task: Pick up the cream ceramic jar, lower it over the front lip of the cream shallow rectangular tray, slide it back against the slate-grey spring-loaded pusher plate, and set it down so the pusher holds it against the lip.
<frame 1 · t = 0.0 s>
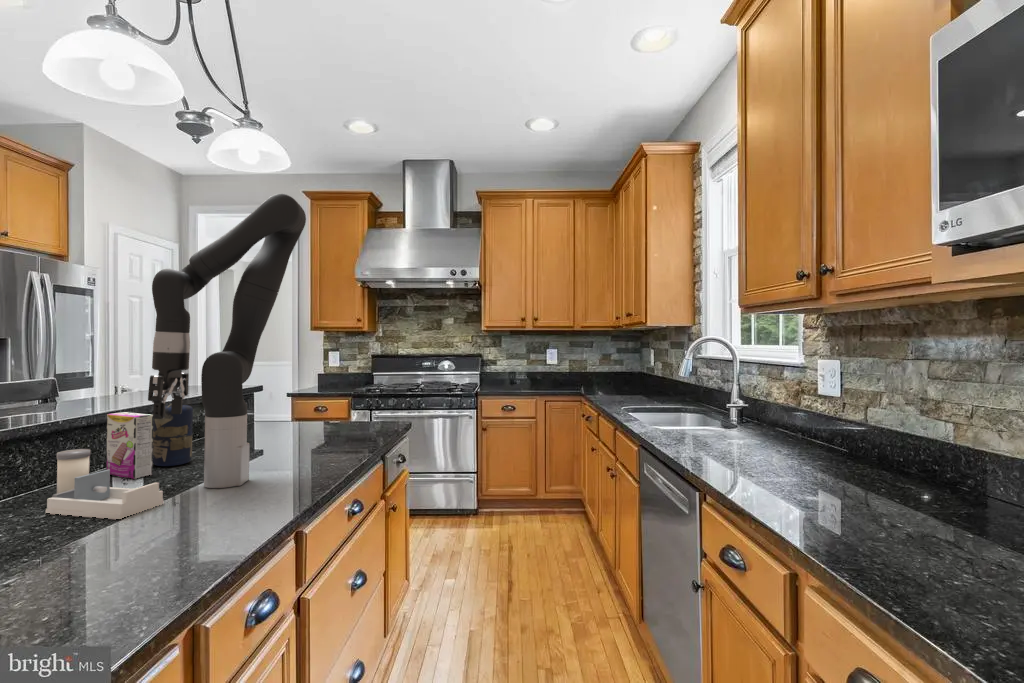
hand: (168, 416, 122), 17 cm above the worktop, tool pointing down, fingers open, 8 cm apart
canister: (172, 465, 144), on the worktop
jar: (72, 496, 113), on the worktop
pusher: (96, 488, 105), point 4 cm above the worktop, slide at -4.0 cm
cream shallow rectangular tray: (106, 508, 105), on the worktop
candy bar box: (129, 476, 131), on the worktop
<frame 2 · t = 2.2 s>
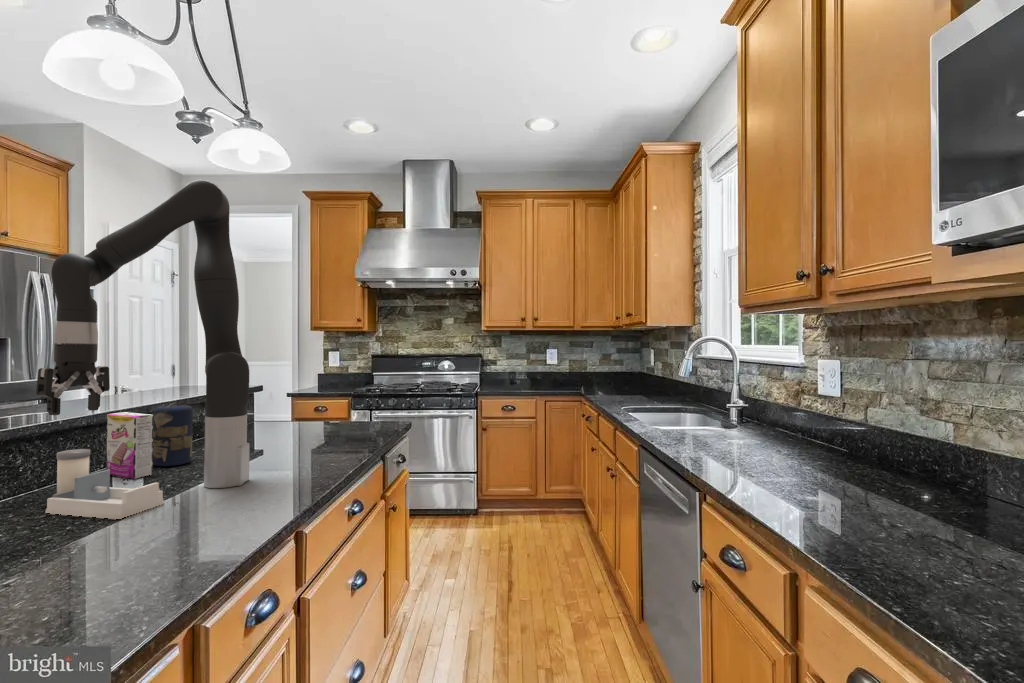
hand: (74, 412, 113), 19 cm above the worktop, tool pointing down, fingers open, 8 cm apart
nothing on the worktop moved.
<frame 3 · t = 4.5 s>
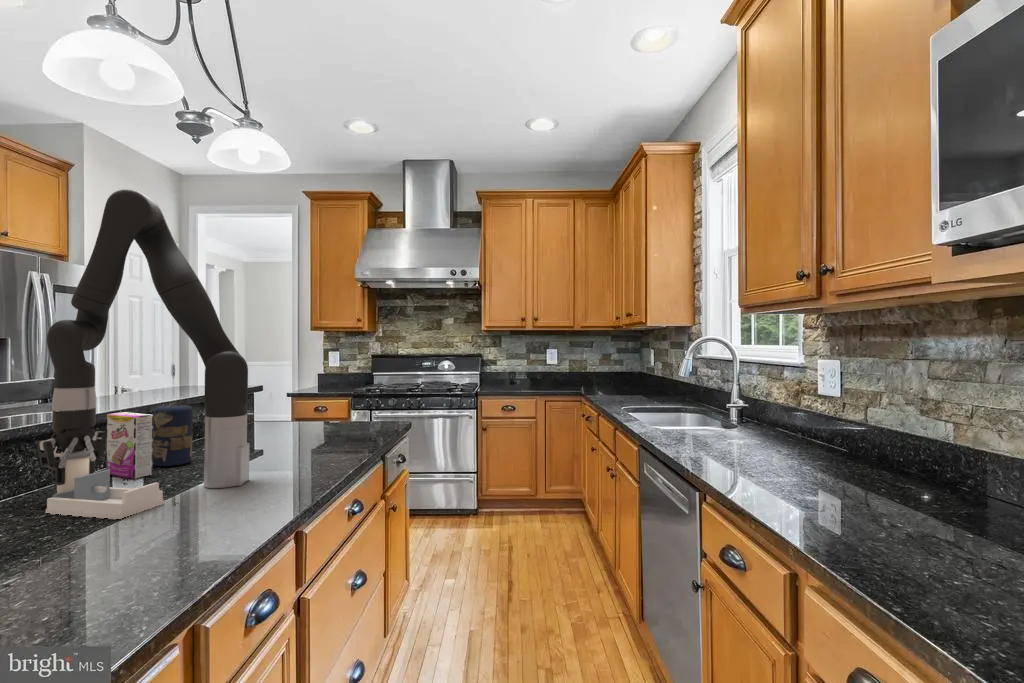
hand: (73, 480, 113), 4 cm above the worktop, tool pointing down, fingers closed on jar, 5 cm apart
jar: (73, 496, 113), on the worktop, touching gripper
everything else where it was.
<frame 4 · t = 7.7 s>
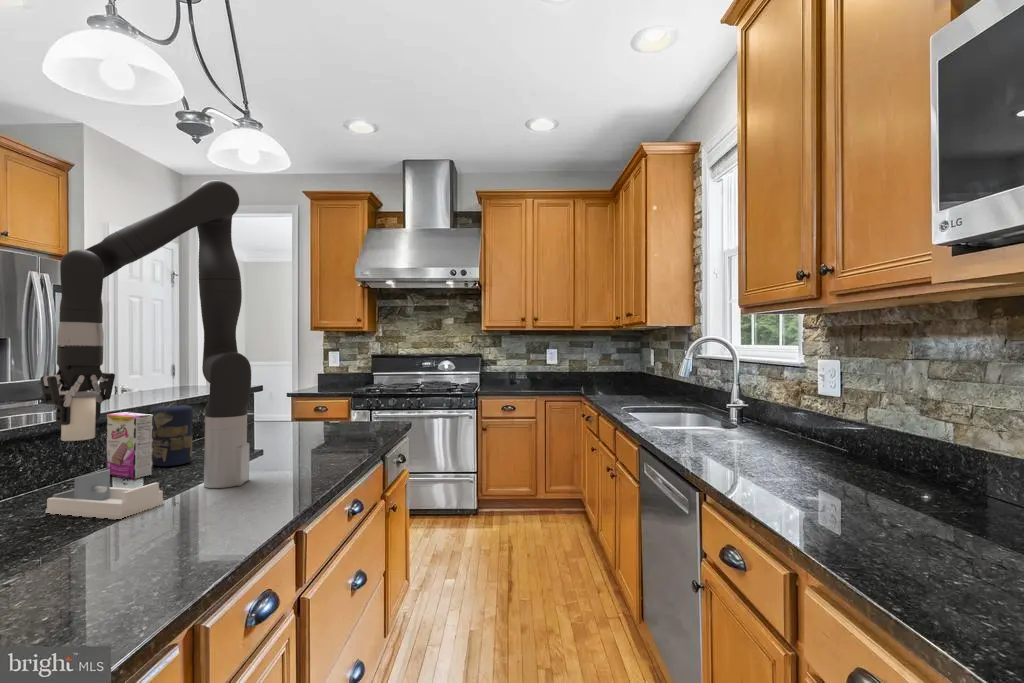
hand: (78, 422, 106), 18 cm above the worktop, tool pointing down, fingers closed on jar, 5 cm apart
jar: (78, 438, 106), point 15 cm above the worktop, touching gripper
everything else where it was.
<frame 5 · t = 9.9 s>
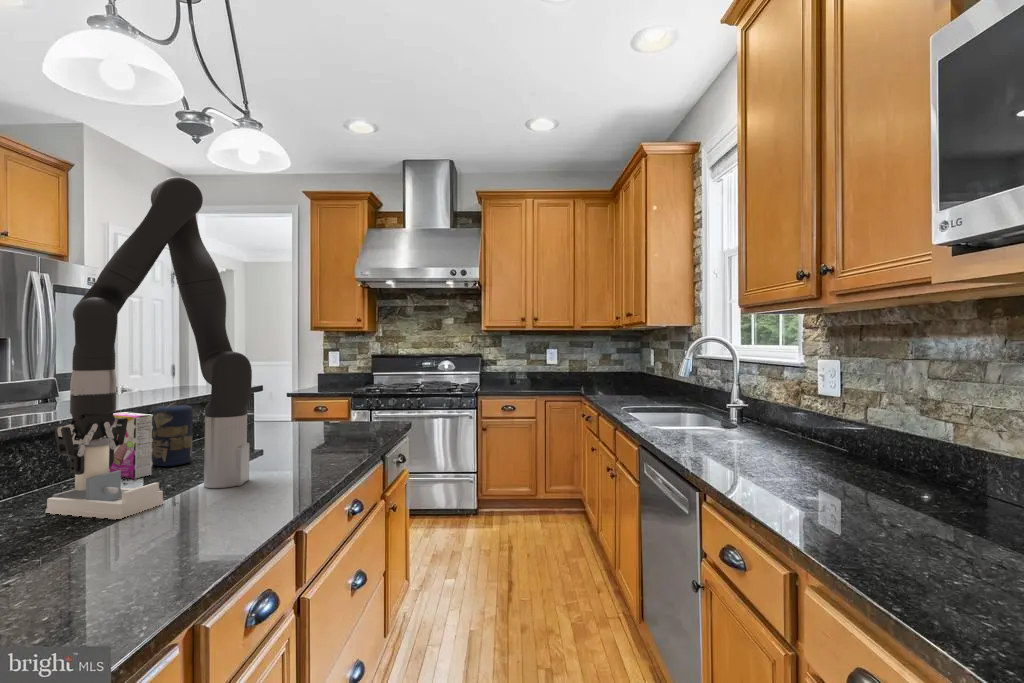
hand: (92, 470, 105), 8 cm above the worktop, tool pointing down, fingers closed on jar, 5 cm apart
jar: (92, 486, 105), point 4 cm above the worktop, touching gripper, pusher
pusher: (108, 488, 105), point 4 cm above the worktop, slide at -6.8 cm, touching jar
everything else where it was.
when the fingers open (6 cm above the worktop, at t = 11.3 s): jar moves 1 cm, resting on cream shallow rectangular tray, pusher.
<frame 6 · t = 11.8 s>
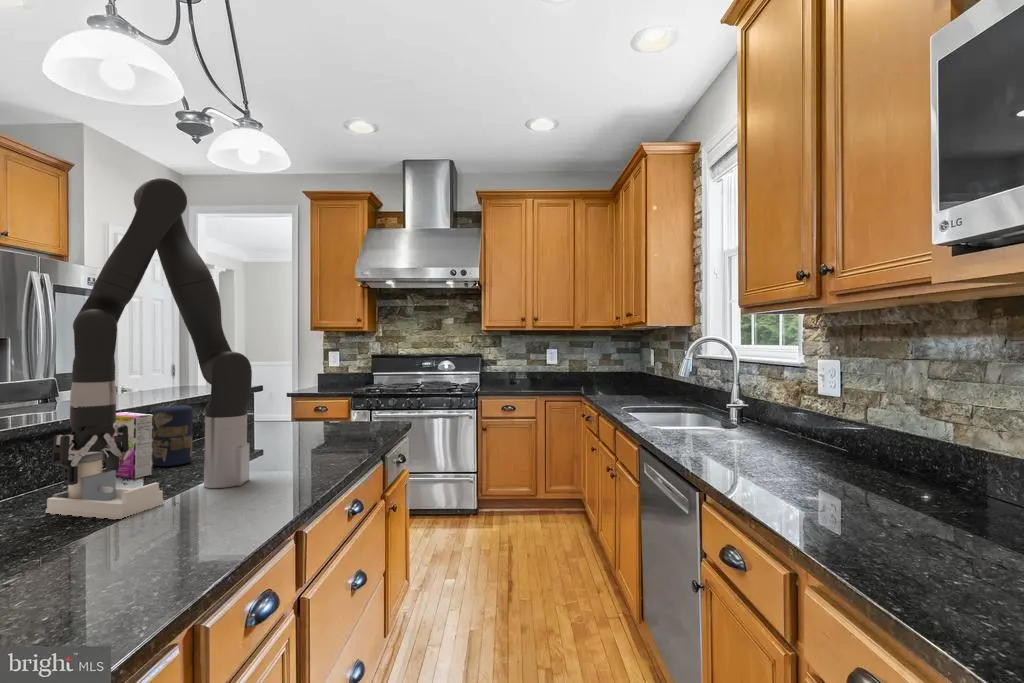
hand: (92, 478, 105), 6 cm above the worktop, tool pointing down, fingers open, 8 cm apart
jar: (85, 502, 105), point 1 cm above the worktop, touching cream shallow rectangular tray, pusher
pusher: (103, 488, 105), point 4 cm above the worktop, slide at -5.5 cm, touching jar
everything else where it was.
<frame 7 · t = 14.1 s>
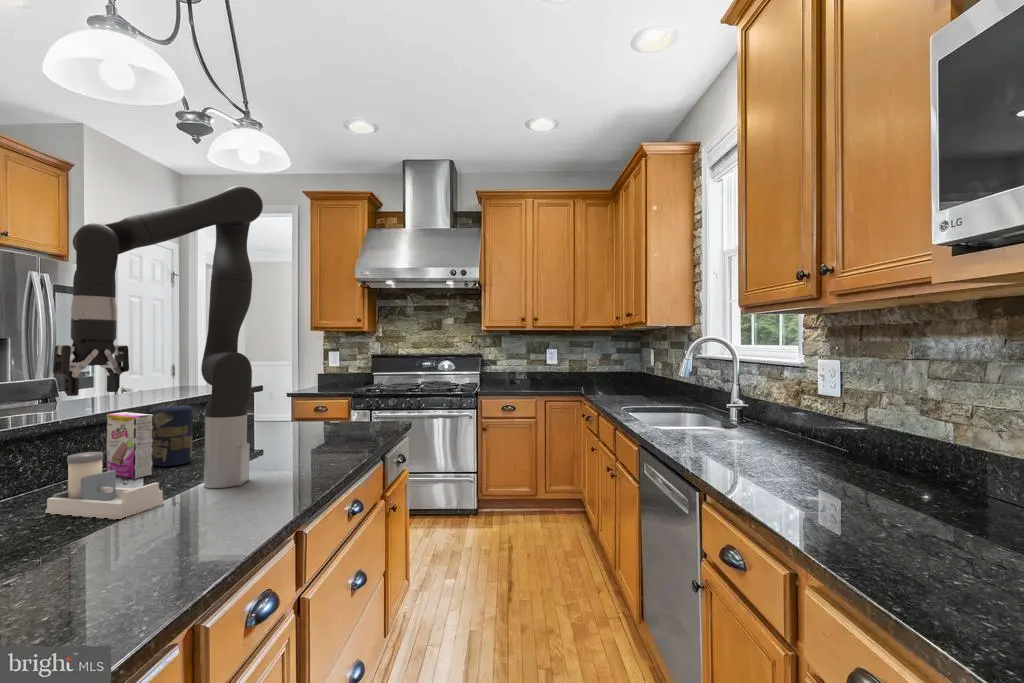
hand: (93, 393, 106), 24 cm above the worktop, tool pointing down, fingers open, 8 cm apart
nothing on the worktop moved.
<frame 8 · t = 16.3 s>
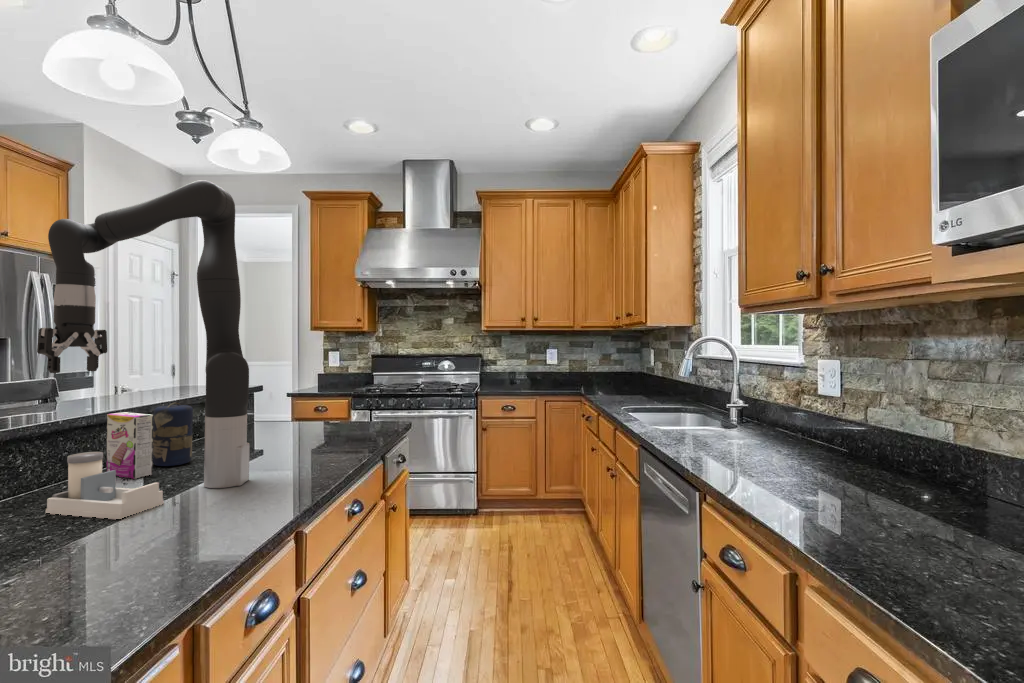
hand: (73, 372, 119), 28 cm above the worktop, tool pointing down, fingers open, 8 cm apart
nothing on the worktop moved.
at the end: jar 0.6 cm from the target spot on the cream shallow rectangular tray, point 1.0 cm above the cream shallow rectangular tray's base; jar tilted 1°; pusher slide at -5.5 cm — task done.
